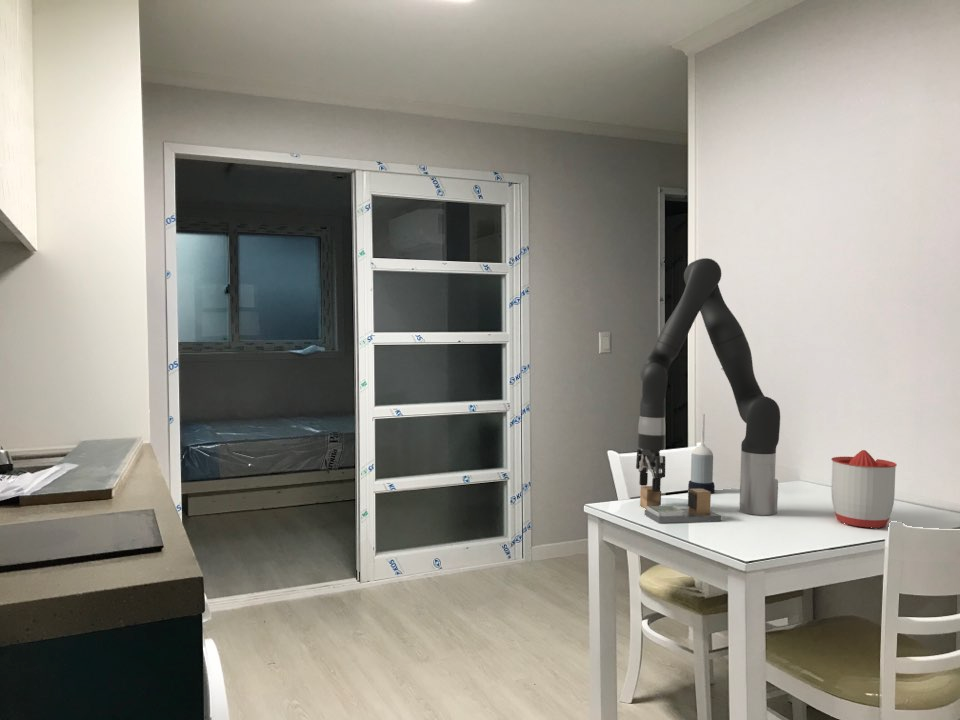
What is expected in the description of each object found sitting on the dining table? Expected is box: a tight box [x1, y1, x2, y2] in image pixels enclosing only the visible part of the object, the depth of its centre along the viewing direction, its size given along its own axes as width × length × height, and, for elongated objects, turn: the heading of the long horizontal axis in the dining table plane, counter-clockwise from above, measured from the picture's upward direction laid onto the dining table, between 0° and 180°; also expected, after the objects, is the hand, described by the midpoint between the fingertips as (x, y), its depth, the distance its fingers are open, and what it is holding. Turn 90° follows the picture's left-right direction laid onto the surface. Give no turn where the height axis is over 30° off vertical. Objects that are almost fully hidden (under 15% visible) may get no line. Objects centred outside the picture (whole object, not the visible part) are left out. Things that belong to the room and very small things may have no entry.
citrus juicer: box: [831, 449, 897, 529], centre depth 196 cm, size 16×17×20 cm
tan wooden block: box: [639, 485, 662, 510], centre depth 208 cm, size 4×4×6 cm
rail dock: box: [644, 489, 722, 524], centre depth 197 cm, size 18×9×8 cm, turn 101°
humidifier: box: [687, 413, 715, 495], centre depth 233 cm, size 8×8×25 cm
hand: (649, 488), depth 208 cm, fingers open, 8 cm apart
